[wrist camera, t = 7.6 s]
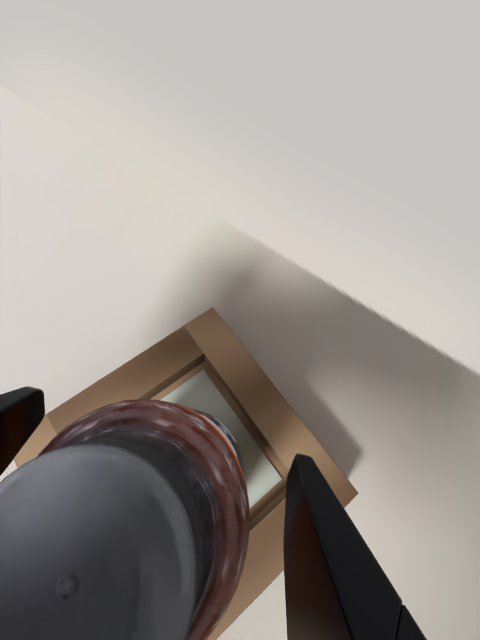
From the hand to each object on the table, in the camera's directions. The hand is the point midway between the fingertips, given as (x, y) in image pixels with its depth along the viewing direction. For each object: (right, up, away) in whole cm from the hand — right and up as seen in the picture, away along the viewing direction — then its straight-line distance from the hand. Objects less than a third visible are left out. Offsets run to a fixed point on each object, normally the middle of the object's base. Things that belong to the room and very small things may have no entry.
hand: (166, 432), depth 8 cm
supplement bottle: (-1, -5, +7) cm, 9 cm away
